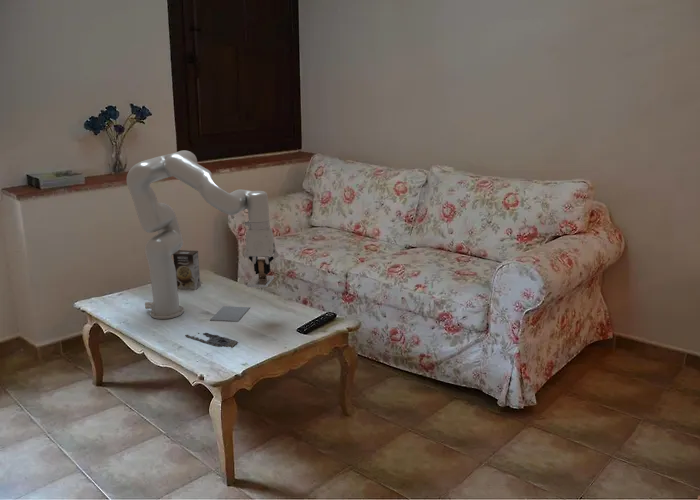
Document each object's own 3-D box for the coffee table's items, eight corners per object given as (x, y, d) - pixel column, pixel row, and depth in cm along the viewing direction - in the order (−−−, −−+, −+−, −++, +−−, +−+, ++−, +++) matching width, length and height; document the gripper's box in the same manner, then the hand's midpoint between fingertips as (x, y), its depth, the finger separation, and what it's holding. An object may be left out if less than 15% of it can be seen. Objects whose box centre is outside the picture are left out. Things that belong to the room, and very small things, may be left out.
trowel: (247, 286, 233) (245, 265, 231) (255, 277, 243) (254, 257, 241) (265, 287, 232) (264, 266, 230) (273, 278, 242) (272, 258, 239)
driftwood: (240, 344, 225) (240, 339, 224) (226, 352, 219) (226, 346, 219) (199, 332, 236) (199, 327, 235) (185, 339, 231) (184, 334, 230)
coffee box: (175, 289, 279) (172, 253, 275) (181, 284, 286) (178, 249, 281) (195, 290, 278) (192, 254, 273) (201, 285, 284) (198, 250, 280)
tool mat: (210, 320, 245) (210, 319, 245) (223, 307, 258) (223, 306, 258) (237, 321, 243) (237, 320, 243) (249, 308, 256) (249, 307, 256)
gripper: (234, 227, 232) (238, 276, 237) (278, 228, 229) (281, 277, 235) (241, 222, 239) (244, 269, 244) (283, 222, 237) (286, 270, 242)
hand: (262, 272), depth 239 cm, fingers closed on trowel, 3 cm apart
